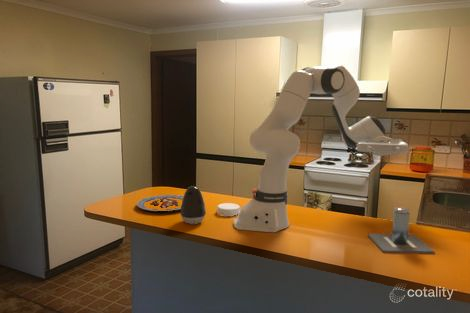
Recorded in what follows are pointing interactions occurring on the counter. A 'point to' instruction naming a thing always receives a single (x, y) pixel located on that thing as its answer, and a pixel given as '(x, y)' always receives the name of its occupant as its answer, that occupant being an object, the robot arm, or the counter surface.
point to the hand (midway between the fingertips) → (383, 149)
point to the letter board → (412, 245)
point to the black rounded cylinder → (193, 206)
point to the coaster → (228, 209)
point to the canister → (400, 225)
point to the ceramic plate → (163, 199)
